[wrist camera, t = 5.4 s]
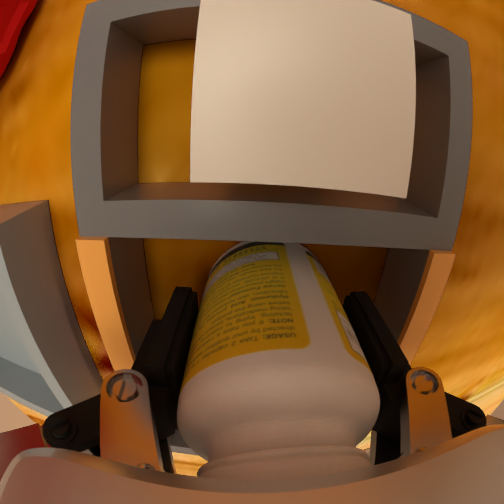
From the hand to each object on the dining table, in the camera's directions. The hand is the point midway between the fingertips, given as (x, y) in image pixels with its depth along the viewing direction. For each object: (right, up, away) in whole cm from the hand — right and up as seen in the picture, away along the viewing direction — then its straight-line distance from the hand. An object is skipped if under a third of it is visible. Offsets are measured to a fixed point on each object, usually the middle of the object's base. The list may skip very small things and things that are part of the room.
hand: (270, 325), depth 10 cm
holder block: (0, +1, +2) cm, 2 cm away
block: (0, +8, -1) cm, 8 cm away
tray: (-18, -1, +3) cm, 18 cm away
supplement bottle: (0, +1, +2) cm, 3 cm away
